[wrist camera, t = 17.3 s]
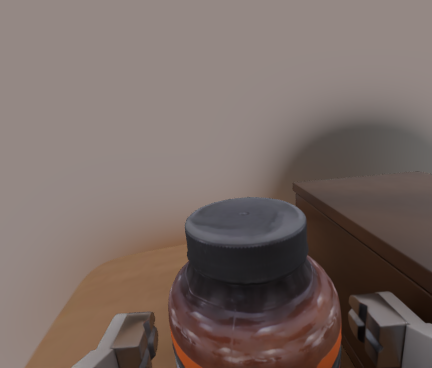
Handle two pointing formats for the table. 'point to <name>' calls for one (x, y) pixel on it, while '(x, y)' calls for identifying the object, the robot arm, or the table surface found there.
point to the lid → (382, 216)
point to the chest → (358, 275)
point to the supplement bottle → (252, 291)
